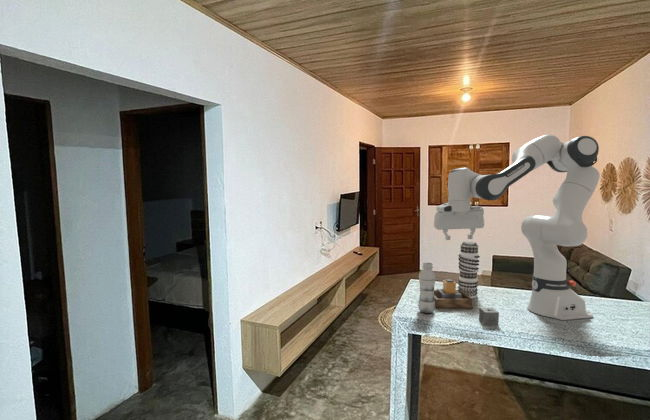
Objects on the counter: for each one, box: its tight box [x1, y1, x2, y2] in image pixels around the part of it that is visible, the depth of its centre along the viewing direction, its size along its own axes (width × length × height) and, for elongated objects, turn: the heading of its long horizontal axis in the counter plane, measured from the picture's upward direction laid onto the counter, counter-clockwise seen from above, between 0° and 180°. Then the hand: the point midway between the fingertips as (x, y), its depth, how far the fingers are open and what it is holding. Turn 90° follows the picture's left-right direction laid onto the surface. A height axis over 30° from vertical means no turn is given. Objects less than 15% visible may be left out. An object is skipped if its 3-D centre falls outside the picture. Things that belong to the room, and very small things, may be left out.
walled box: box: [434, 288, 473, 310], centre depth 153 cm, size 15×13×5 cm
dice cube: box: [478, 307, 500, 326], centre depth 133 cm, size 5×5×5 cm
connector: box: [442, 278, 457, 293], centre depth 153 cm, size 4×4×10 cm
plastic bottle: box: [417, 261, 437, 314], centre depth 143 cm, size 6×7×20 cm
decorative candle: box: [457, 240, 481, 299], centre depth 164 cm, size 9×9×25 cm
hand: (459, 239), depth 149 cm, fingers open, 8 cm apart
